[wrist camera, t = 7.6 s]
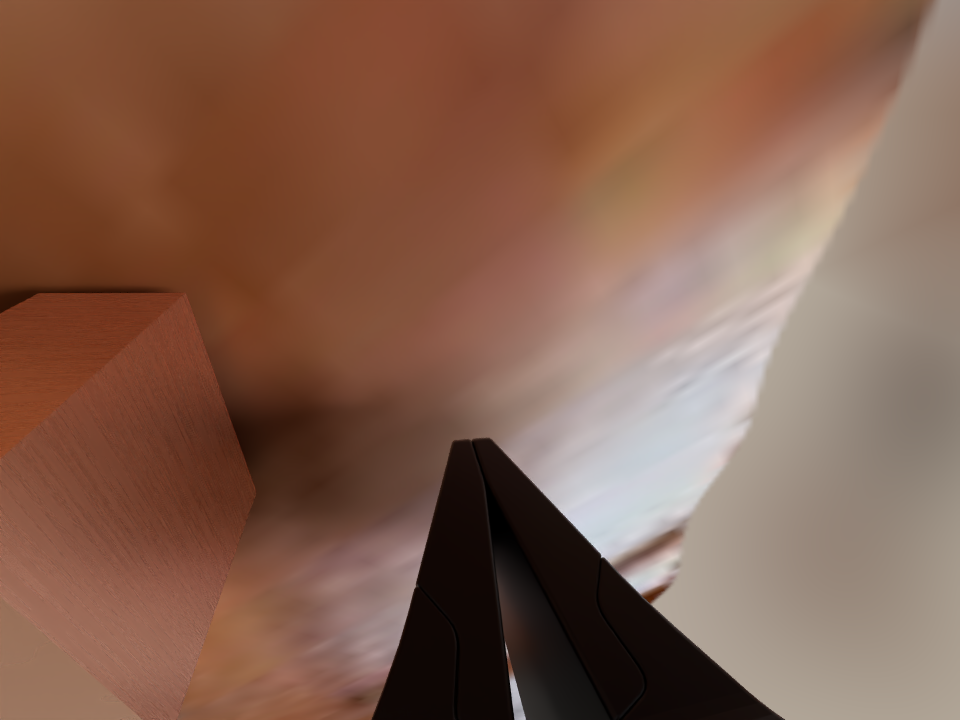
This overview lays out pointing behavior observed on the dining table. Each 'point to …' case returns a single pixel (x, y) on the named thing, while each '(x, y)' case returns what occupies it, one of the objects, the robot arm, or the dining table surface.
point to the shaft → (110, 505)
